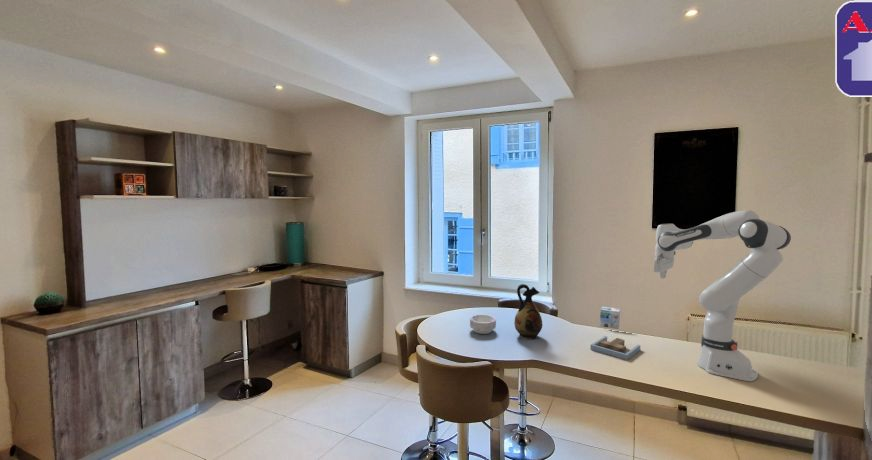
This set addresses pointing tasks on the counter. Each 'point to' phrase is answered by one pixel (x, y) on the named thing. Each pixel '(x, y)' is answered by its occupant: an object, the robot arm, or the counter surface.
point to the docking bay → (626, 356)
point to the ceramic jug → (527, 315)
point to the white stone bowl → (482, 323)
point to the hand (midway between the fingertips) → (662, 278)
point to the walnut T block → (614, 345)
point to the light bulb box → (609, 317)
